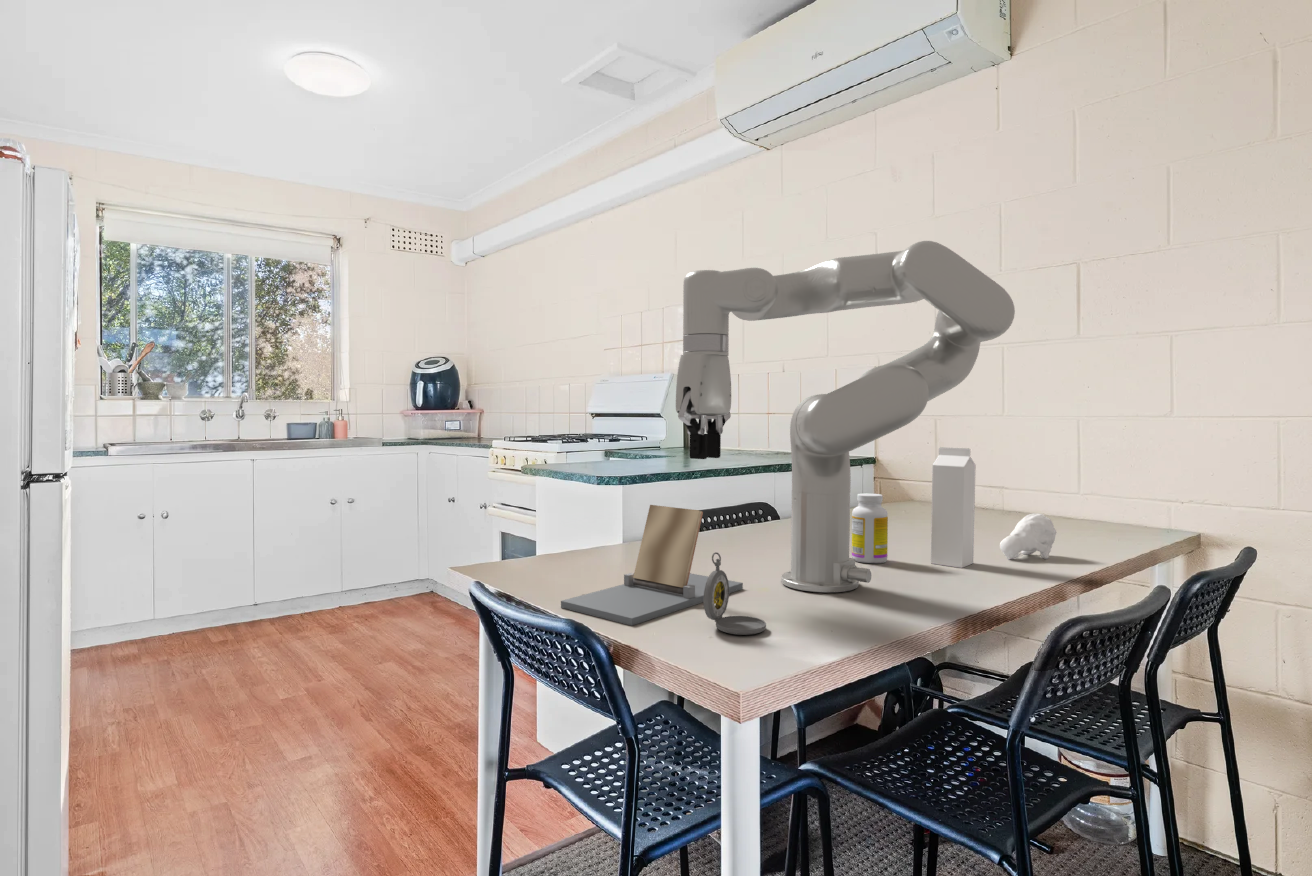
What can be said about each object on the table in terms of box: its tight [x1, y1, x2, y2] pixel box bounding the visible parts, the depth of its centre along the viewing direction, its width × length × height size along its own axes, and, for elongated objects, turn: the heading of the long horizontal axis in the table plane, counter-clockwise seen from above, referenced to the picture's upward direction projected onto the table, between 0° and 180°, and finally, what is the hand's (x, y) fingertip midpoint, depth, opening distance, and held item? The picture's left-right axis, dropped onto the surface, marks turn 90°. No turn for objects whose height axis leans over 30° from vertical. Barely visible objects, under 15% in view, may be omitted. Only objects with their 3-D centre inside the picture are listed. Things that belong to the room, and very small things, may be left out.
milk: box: [930, 446, 977, 569], centre depth 142 cm, size 6×6×22 cm
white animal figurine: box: [999, 513, 1058, 561], centre depth 148 cm, size 6×8×12 cm
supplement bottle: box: [851, 492, 889, 564], centre depth 145 cm, size 7×7×13 cm
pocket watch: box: [703, 552, 767, 636], centre depth 100 cm, size 8×8×10 cm
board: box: [560, 572, 744, 627], centre depth 116 cm, size 14×27×3 cm, turn 140°
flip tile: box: [632, 504, 704, 595], centre depth 118 cm, size 10×13×1 cm
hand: (705, 457), depth 125 cm, fingers open, 3 cm apart
